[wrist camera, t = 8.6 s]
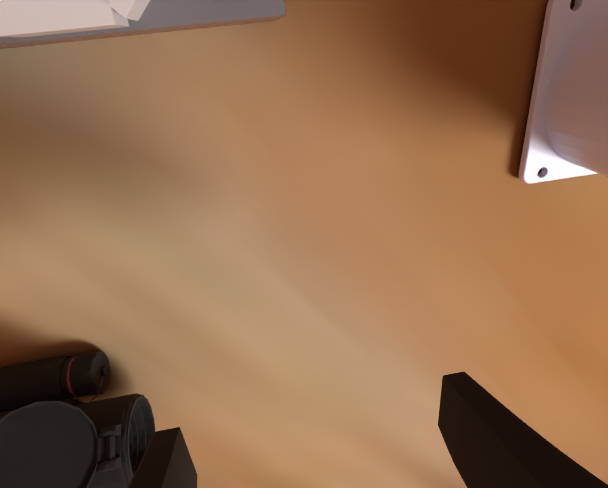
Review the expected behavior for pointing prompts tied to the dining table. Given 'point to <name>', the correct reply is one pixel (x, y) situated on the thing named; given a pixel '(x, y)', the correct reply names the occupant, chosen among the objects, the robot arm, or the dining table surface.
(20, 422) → the night vision scope
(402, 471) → the dining table surface
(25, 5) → the camera body
